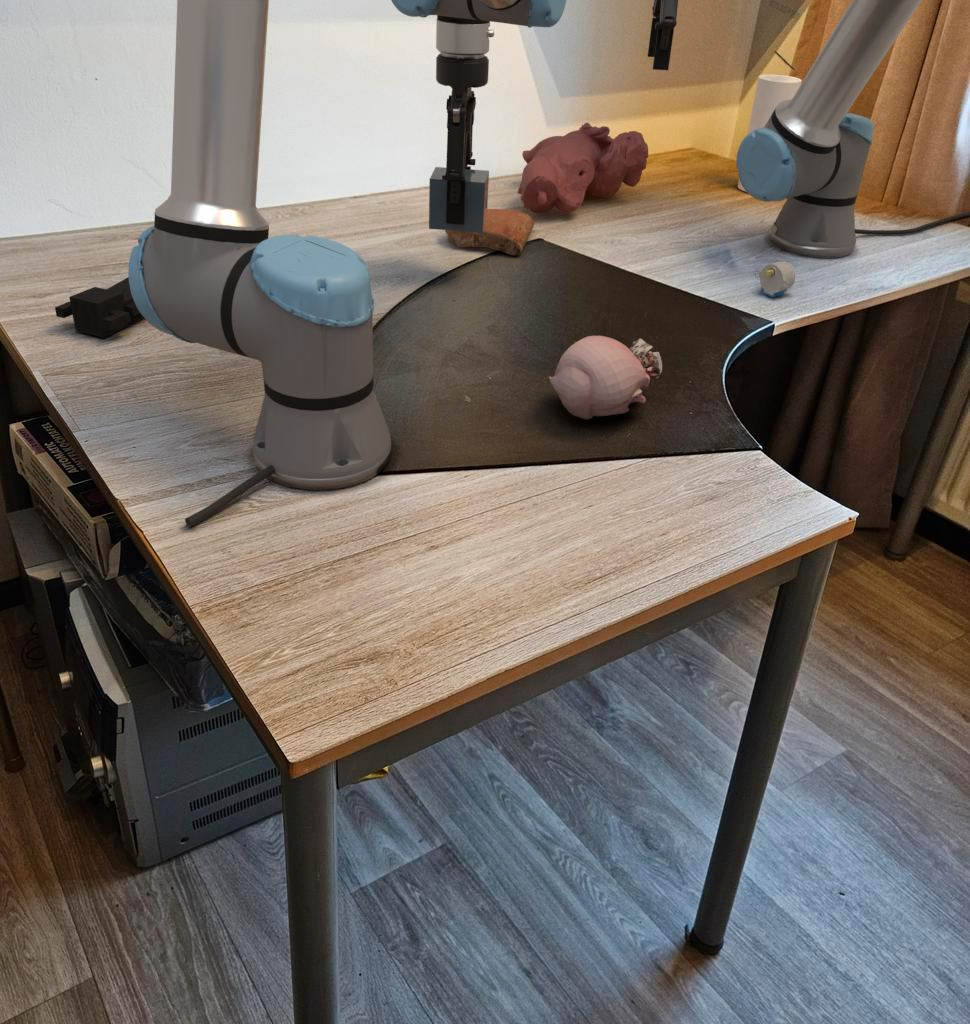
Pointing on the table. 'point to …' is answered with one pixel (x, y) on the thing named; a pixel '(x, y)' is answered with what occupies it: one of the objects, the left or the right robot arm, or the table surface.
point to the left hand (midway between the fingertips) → (457, 215)
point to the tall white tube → (771, 95)
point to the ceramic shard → (498, 232)
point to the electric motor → (776, 278)
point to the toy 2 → (604, 376)
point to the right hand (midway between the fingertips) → (657, 63)
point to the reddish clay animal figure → (580, 168)
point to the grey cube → (473, 201)
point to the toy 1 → (100, 309)
